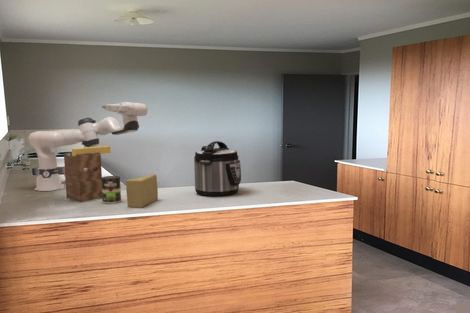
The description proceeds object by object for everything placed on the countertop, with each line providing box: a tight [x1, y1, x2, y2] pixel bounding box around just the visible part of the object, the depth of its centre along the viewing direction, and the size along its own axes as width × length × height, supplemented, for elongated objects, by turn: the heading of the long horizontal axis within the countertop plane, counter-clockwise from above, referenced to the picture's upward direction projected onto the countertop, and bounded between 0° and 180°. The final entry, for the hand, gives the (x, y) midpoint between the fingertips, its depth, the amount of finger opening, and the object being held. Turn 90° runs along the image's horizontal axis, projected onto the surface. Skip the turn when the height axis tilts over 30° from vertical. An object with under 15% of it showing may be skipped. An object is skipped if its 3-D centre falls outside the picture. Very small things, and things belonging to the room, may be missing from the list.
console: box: [63, 152, 103, 203], centre depth 260 cm, size 14×19×27 cm
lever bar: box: [71, 145, 111, 156], centre depth 259 cm, size 22×4×4 cm, turn 135°
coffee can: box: [101, 175, 122, 204], centre depth 249 cm, size 10×10×14 cm
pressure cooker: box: [193, 140, 242, 197], centre depth 268 cm, size 30×28×32 cm
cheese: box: [125, 173, 159, 209], centre depth 242 cm, size 22×10×15 cm, turn 157°
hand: (106, 107), depth 278 cm, fingers open, 8 cm apart
